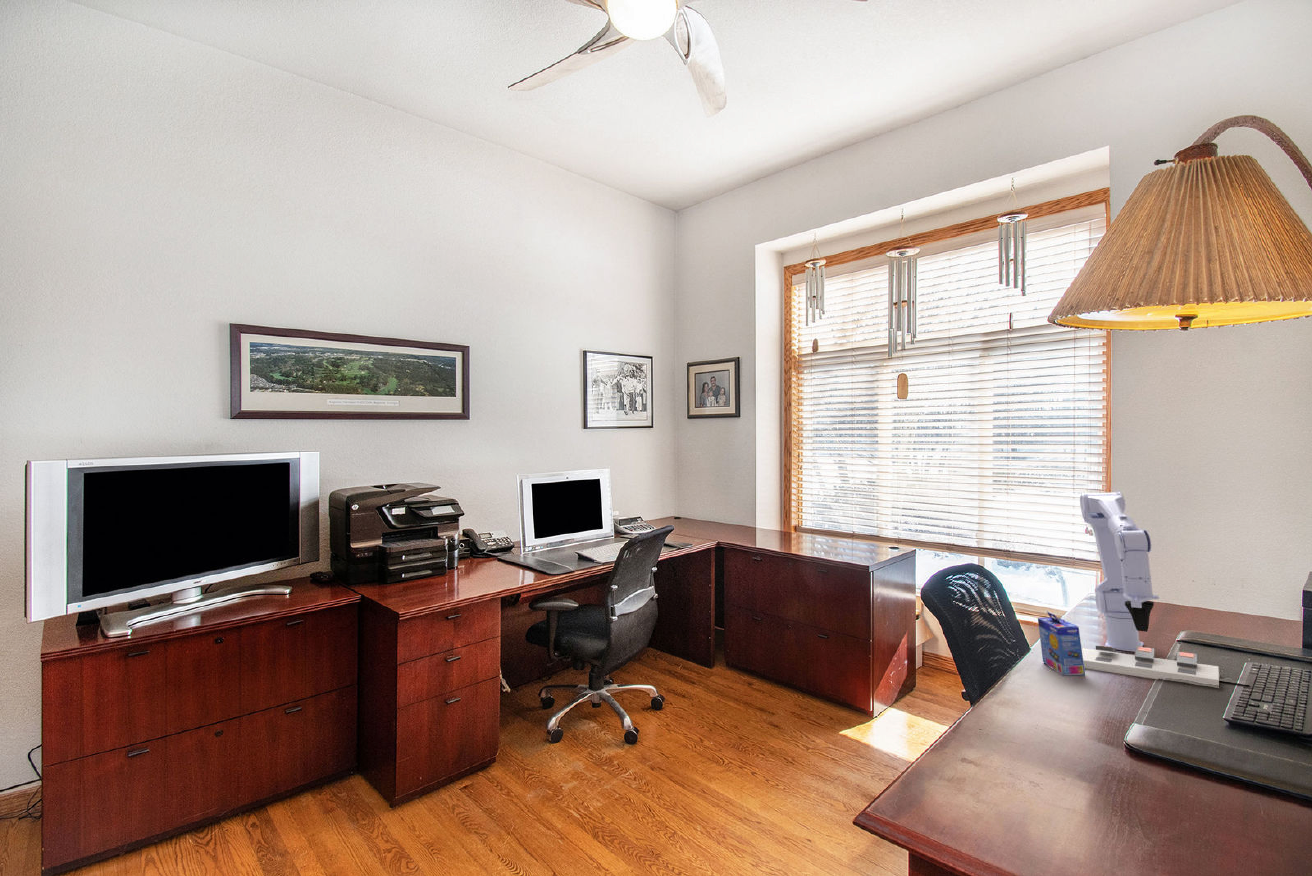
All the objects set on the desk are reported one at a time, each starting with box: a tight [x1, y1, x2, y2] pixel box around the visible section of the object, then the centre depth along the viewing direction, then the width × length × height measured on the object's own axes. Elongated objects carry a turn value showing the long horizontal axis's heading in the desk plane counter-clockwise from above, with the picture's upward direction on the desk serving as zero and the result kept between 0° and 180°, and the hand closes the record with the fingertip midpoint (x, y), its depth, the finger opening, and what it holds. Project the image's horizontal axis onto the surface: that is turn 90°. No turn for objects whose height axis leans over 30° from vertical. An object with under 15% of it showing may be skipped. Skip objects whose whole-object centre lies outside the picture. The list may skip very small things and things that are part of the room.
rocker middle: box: [1134, 646, 1155, 662], centre depth 149 cm, size 5×4×1 cm
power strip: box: [1082, 647, 1232, 685], centre depth 145 cm, size 11×32×2 cm, turn 46°
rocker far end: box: [1095, 645, 1117, 653], centre depth 154 cm, size 5×4×1 cm
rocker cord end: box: [1176, 651, 1198, 668], centre depth 143 cm, size 5×4×1 cm
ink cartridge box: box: [1037, 611, 1086, 676], centre depth 152 cm, size 10×6×14 cm, turn 174°
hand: (1142, 630), depth 149 cm, fingers closed
